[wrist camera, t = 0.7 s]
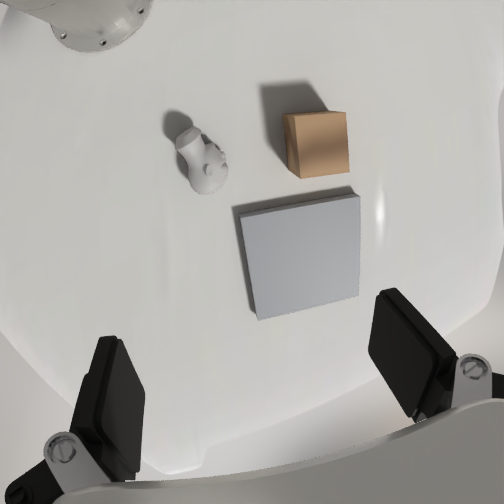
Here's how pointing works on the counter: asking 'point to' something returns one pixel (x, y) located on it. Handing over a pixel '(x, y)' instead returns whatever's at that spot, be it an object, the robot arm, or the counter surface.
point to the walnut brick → (316, 143)
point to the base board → (303, 254)
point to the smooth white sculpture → (202, 162)
